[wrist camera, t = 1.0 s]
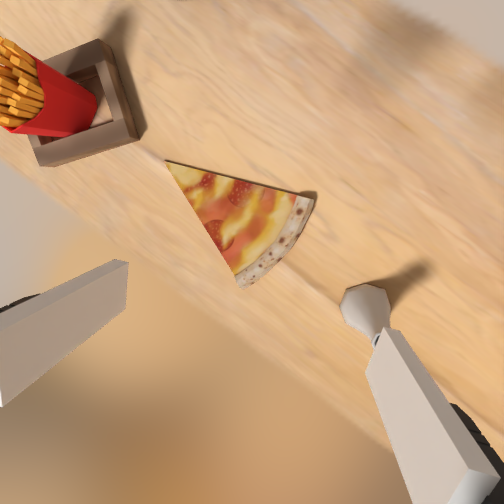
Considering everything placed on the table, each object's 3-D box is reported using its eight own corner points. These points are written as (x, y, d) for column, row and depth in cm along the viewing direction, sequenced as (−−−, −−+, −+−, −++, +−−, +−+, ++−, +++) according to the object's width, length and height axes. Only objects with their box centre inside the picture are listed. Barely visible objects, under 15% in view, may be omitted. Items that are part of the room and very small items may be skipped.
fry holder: (21, 83, 39) (4, 76, 37) (110, 47, 37) (97, 38, 34) (54, 167, 42) (39, 166, 40) (139, 140, 39) (129, 137, 37)
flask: (339, 283, 40) (354, 314, 31) (391, 282, 39) (423, 315, 30) (338, 327, 42) (352, 370, 32) (388, 328, 41) (418, 372, 31)
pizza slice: (257, 96, 36) (255, 91, 34) (335, 239, 39) (337, 242, 37) (166, 161, 40) (159, 160, 38) (244, 286, 43) (241, 291, 41)
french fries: (80, 148, 41) (-13, 133, 28) (56, 131, 41) (-48, 108, 28) (105, 90, 38) (15, 45, 26) (80, 72, 38) (-24, 18, 25)
